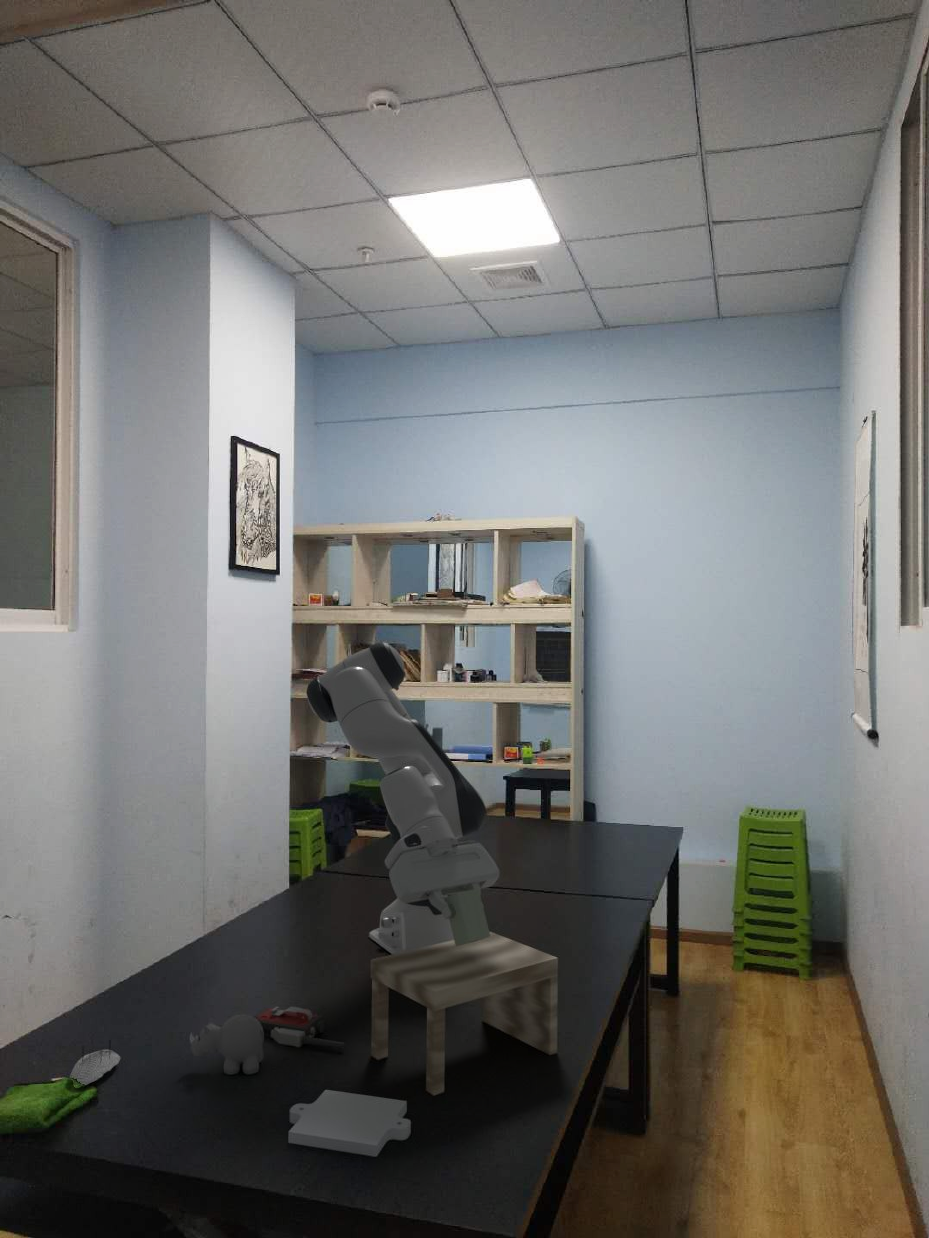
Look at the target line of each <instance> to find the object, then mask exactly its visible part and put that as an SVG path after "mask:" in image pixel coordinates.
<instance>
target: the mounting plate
mask: <svg viewBox="0 0 929 1238" xmlns="http://www.w3.org/2000/svg"><path fill="white" fill-rule="evenodd" d="M407 1104H408V1102H407V1100H399V1099H394V1098H388V1097H387V1098H385V1097H381V1096H380V1097H379V1096H373V1095H367V1094H366V1095H365V1094H358V1093H351V1092H345V1091H340V1090H339V1091H338V1090H330V1089H325V1090H324V1091H323V1092H322V1093H321V1094H320V1095H319V1096H318V1098H317V1099H316V1100H315V1101H314V1102H311V1103H301V1102H300V1103H296V1104H294V1105H292V1106H291V1107H290V1109H289V1123H290V1124H293V1126H292V1127H291V1128H290V1129H289V1130H288V1140H287V1141H288V1142H287V1143H288V1144H295V1145H302V1146H306V1147H313V1148H320V1149H327V1150H332V1151H338V1152H344V1153H350V1154H355V1155H364V1156H368V1157H369V1156H370V1157H378V1155H379V1153H380V1152H381V1151H382V1150H383V1148H384V1146H385V1145H386V1143H387V1142H388V1141H391V1140H396V1141H405V1140H407V1139H408V1138H409V1137H410V1135H411V1131H412V1129H411V1128H412V1127H411V1125H412V1121H411V1120H410V1119H408V1118H404V1116H405V1115H406V1113H407V1112H408V1111H407V1109H408V1108H407V1107H408V1106H407Z"/></svg>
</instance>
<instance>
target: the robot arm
mask: <svg viewBox="0 0 929 1238" xmlns="http://www.w3.org/2000/svg"><path fill="white" fill-rule="evenodd" d="M405 670H406V669H405V663H404V660H403V657H402V656H401V653H399V652H398V650H397V649H396V648H394V647H393V646H391V644H390V643H388V642H386V641H379V642H376V643H373V644H371V645H369V647H367V648H365V649H362V650H360V651H357V652H355V653H353V654H351V655H349V656H347V657H345V658H344V659H343V660H342V661H339V663H337V664H335V665H334V666H332V667H331V668H329V669H328V670H327V671H325V672H324V673H323V674H321V675H320V676H319V675H317V676H316V677H315V678H314V679H312V680H311V681H310V682H309V683H308V685H307V688H306V691H305V692H306V693H305V694H306V697H307V698H306V699H307V703H308V705H309V707H310V710H311V711H312V712H313V714H314V715H315V716H317V717H318V718H319V719H320V720H321V721H322V722H325V723H330V724H331V723H335V722H338V723H339V726H340V728H341V731H342V732H343V734H344V737H345V738H346V739H347V740H346V741H347V742H348V743H349V744H350V746H351V748H352V750H354V751H356V752H357V753H359V755H363V756H366V757H370V758H375V759H377V761H378V763H379V764H380V766H381V768H382V770H383V772H384V773H385V776H384V777H383V778H382V779H381V780H380V782H379V788H380V793H381V796H382V799H383V802H384V804H385V807H386V810H387V815H386V819H385V822H384V826H385V828H386V830H387V832H389V834H390V836H391V839H392V842H393V847H392V848H391V850H390V851H389V852H388V853H387V856H386V857H385V859H384V864H385V865H384V866H385V867H386V868H387V870H389V873H388V875H389V876H388V877H389V881H390V883H391V886H392V888H393V891H394V893H395V895H396V897H397V898H396V899H395V900H394V901H393V902H391V903H390V904H389V905H388V906H386V907H385V908H384V909H383V910H382V911H381V913H380V917H379V918H380V919H379V927H378V928H375V929H373V930H371V931H370V932H369V933H368V937H369V938H370V939H371V940H372V941H374V942H376V944H378V945H379V946H380V947H382V948H383V949H385V950H386V951H387V952H389V953H390V955H393V954H397V953H401V952H405V951H410V950H414V949H418V948H422V947H427V946H431V945H435V944H439V943H443V942H448V941H452V940H454V937H453V933H452V929H451V925H450V921H449V919H450V918H453V917H454V916H455V915H456V911H455V909H454V907H453V905H452V904H450V905H448V904H447V903H446V902H445V901H444V898H445V897H448V896H450V895H453V894H455V893H458V892H463V891H468V890H473V889H478V890H479V894H480V896H482V895H481V893H482V889H486V888H489V887H492V886H493V885H494V884H495V883H496V882H497V880H499V877H500V870H499V867H498V865H497V863H496V862H495V861H494V860H493V858H492V857H491V855H490V854H489V852H488V851H487V850H486V848H485V847H484V845H483V844H481V842H478V841H476V840H474V839H473V838H467V839H464V840H463V839H462V840H461V839H460V838H462V837H463V838H465V837H467V836H469V835H472V834H475V833H477V832H480V830H481V828H482V827H483V824H484V822H485V821H486V818H487V813H488V811H487V808H486V804H485V803H486V802H485V801H484V799H483V797H482V795H481V794H480V792H479V791H478V790H477V789H476V787H474V786H473V785H472V784H471V783H470V781H468V780H467V778H466V777H465V776H464V775H463V774H462V773H461V771H460V770H459V769H458V768H457V766H456V765H455V764H454V762H452V760H451V759H450V757H449V755H447V754H446V752H445V751H444V750H443V748H442V747H441V746H440V745H439V743H438V742H437V741H436V740H435V738H434V737H433V735H432V734H431V733H430V732H429V731H428V730H427V728H425V726H424V725H422V723H420V722H419V721H418V720H417V719H414V718H411V716H410V715H409V713H408V710H406V708H405V706H404V705H403V703H402V702H401V700H400V698H398V696H397V695H396V693H395V692H394V690H395V691H398V690H399V689H400V685H401V684H402V683H403V682H404V681H405V680H404V679H405V676H406V674H407V673H406V671H405ZM393 689H394V690H393ZM458 839H459V840H458ZM482 905H483V909H484V907H485V906H484V903H482Z"/></svg>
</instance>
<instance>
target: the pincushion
mask: <svg viewBox="0 0 929 1238" xmlns="http://www.w3.org/2000/svg"><path fill="white" fill-rule="evenodd" d="M93 1040H94V1038H93V1037H92V1038H91V1044H94V1043H93ZM111 1041H112V1039H111V1038H109V1045H108V1047H109V1049H104V1048H102V1049H100V1050H97V1051H94V1052H93V1051H92V1052H89V1053H88V1054H85V1051H84V1046H82V1048H81V1049H82V1054H81V1055H82V1057H81V1058H80V1059H79V1060H78V1061H77V1062H76V1063H75V1064H74V1066H73V1068H72V1070H71V1073H70V1074H69V1079H70V1078H74V1079H77V1081H78V1082H80V1083H81V1084H84V1085H85V1086H87V1085H89V1084H90V1083H93V1082H95V1081H98V1080H99V1079H101V1078H102V1077H103V1076H104V1074H105V1073H108V1072H110V1071H111V1070H112V1069H113V1068H114V1067H115V1066H116V1065H118V1064H119V1062H120V1061H121V1056H120V1055H119V1054H118V1053H117V1052H115V1051H113V1050H111V1044H112V1043H111Z"/></svg>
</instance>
